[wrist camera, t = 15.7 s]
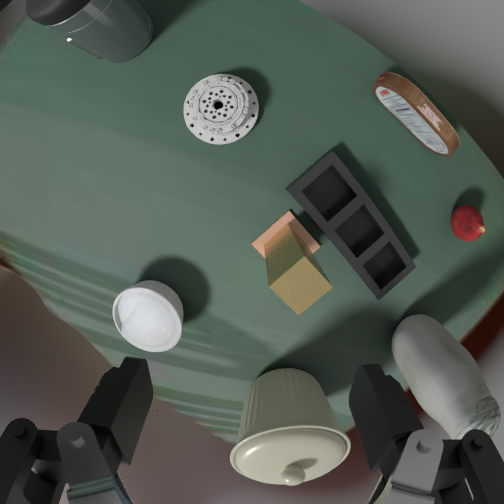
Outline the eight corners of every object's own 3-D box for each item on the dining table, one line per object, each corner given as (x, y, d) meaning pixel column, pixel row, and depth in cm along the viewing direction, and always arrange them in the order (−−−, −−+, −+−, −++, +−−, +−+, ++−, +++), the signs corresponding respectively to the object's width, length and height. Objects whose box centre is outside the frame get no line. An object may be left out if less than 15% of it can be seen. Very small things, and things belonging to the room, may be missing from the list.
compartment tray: (408, 261, 43) (416, 266, 40) (372, 293, 44) (378, 300, 42) (328, 151, 38) (332, 150, 35) (285, 188, 39) (287, 190, 37)
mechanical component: (247, 152, 38) (266, 85, 35) (247, 151, 34) (268, 76, 31) (178, 136, 37) (196, 71, 34) (169, 134, 33) (190, 61, 30)
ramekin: (123, 268, 43) (109, 282, 38) (190, 278, 44) (182, 294, 39) (126, 327, 47) (115, 344, 42) (188, 339, 47) (181, 358, 42)
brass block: (284, 266, 42) (298, 315, 29) (263, 244, 42) (268, 286, 28) (308, 246, 42) (332, 287, 28) (287, 223, 41) (304, 255, 27)
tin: (439, 145, 37) (472, 146, 29) (430, 159, 38) (462, 162, 30) (372, 77, 34) (397, 62, 26) (361, 91, 35) (385, 78, 27)
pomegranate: (439, 233, 41) (467, 248, 34) (444, 199, 39) (473, 209, 32) (463, 234, 41) (491, 248, 34) (467, 202, 39) (497, 212, 32)
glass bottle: (429, 338, 48) (504, 437, 21) (385, 358, 49) (446, 474, 22) (428, 296, 45) (525, 396, 18) (379, 317, 46) (460, 442, 19)
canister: (214, 385, 50) (201, 480, 30) (293, 334, 47) (314, 436, 27) (274, 428, 55) (280, 511, 34) (347, 387, 51) (376, 473, 31)
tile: (283, 276, 43) (284, 277, 43) (251, 243, 42) (251, 243, 41) (319, 245, 42) (320, 246, 42) (288, 210, 40) (288, 210, 40)
